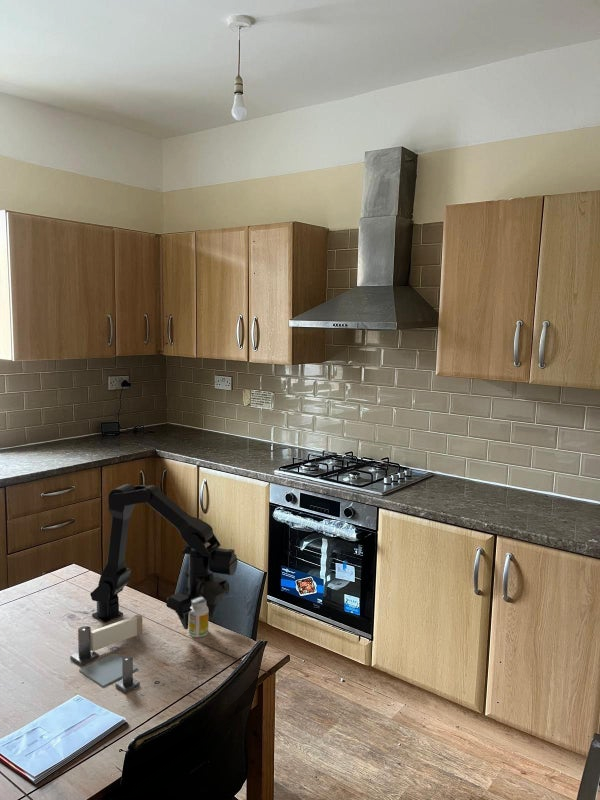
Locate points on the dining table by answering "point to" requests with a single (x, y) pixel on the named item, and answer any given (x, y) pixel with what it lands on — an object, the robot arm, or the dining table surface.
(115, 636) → the gate
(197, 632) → the supplement bottle
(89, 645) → the gate posts
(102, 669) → the doorway mat
